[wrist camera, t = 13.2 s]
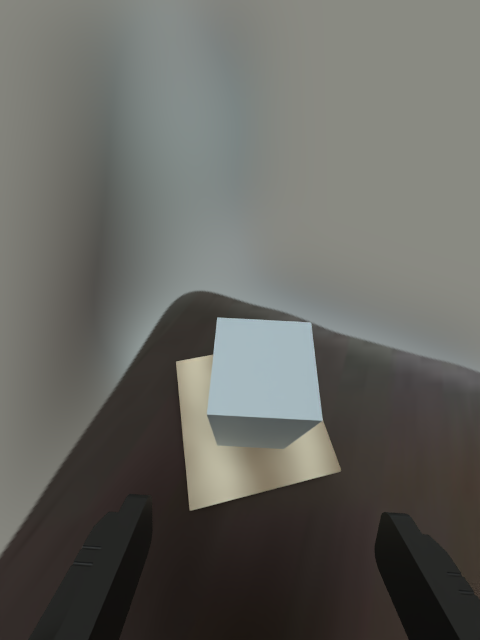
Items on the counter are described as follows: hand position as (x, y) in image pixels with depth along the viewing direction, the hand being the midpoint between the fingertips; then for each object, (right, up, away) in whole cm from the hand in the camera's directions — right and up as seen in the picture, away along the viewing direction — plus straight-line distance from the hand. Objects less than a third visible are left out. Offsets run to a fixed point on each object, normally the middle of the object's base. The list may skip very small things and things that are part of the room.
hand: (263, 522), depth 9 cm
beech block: (0, -2, +15) cm, 15 cm away
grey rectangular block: (0, 0, +12) cm, 12 cm away
